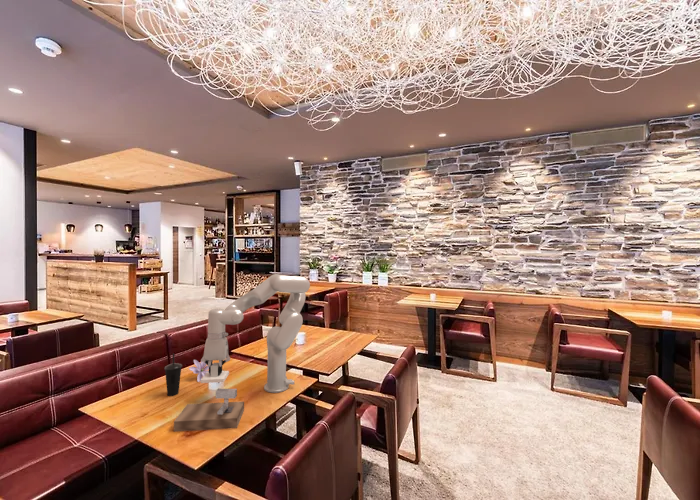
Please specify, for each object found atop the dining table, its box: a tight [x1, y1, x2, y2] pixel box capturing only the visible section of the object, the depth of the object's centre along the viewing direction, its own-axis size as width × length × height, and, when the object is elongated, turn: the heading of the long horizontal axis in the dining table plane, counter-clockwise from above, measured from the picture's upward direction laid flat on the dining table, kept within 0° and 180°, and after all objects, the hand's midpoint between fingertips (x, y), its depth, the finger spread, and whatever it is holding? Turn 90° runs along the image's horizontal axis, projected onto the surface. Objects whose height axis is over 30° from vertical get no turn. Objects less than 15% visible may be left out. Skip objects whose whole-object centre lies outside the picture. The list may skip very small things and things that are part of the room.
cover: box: [200, 362, 230, 384], centre depth 148 cm, size 10×10×6 cm
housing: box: [173, 401, 245, 433], centre depth 132 cm, size 24×14×4 cm, turn 97°
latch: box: [215, 388, 238, 414], centre depth 130 cm, size 8×8×8 cm
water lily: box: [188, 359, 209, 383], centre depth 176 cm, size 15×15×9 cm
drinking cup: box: [164, 353, 183, 397], centre depth 155 cm, size 8×8×20 cm
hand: (215, 374), depth 148 cm, fingers closed on cover, 3 cm apart
